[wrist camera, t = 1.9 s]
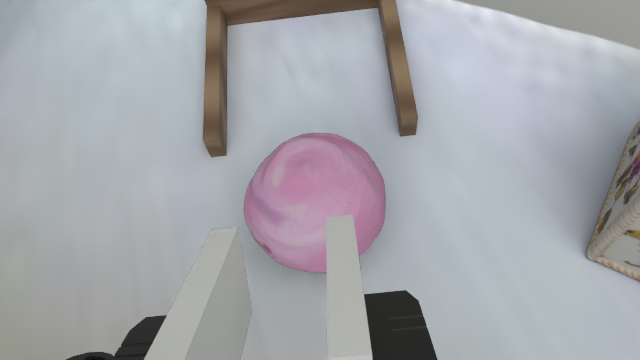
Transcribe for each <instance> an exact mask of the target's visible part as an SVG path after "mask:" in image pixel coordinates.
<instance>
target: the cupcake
mask: <svg viewBox="0 0 640 360" xmlns="http://www.w3.org/2000/svg"><path fill="white" fill-rule="evenodd" d="M385 200H386V199H385V186H384V181H383V177H382V175H381V173H380V171H379V169H378V168H377V166H376V165H375V163H374V161H373V160H372V159H371V157H370V156H369V155H368V153H367V152H366V151H365V150H363V149H362V148H361V147H360V146H358V145H357V144H355V143H354V142H352V141H350V140H348V139H346V138H343V137H341V136H338V135H335V134H329V133H308V134H303V135H299V136H296V137H294V138H291V139H289V140H288V141H286V142H284V143H282V144H281V145H279V146H278V147H277V148H276V149H275V150H274V151H273V152H272V153H271V154H270V155H269V156H268V157H267V158H266V159H265V160H264V161H263V162H262V163H261V165H260V166H259V168H258V169H257V171H256V173H255V175H254V177H253V178H252V180H251V181H250V183H249V186H248V188H247V191H246V195H245V201H244V215H245V220H246V223H247V226H248V228H249V230H250V232H251V234H252V236H253V237H254V239H255V240H256V241H257V243H258V244H259V245H260V246H261V247H262V248H263V249H264V250H265V251H266V252H267V253H268V254H269V255H270V256H271V257H272V258H273V259H274V260H276V261H277V262H279V263H281V264H283V265H285V266H287V267H290V268H294V269H297V270H302V271H307V272H314V273H327V255H326V217H335V216H345V215H353V219H354V226H355V233H356V241H357V248H358V255H360V254H362V253H363V252H364V251H365V250H366V249H367V248H368V247H369V246H370V245H371V243H372V242H373V240H374V239H375V238H376V237H377V235H378V234H379V232H380V231H381V229H382V227H383V223H384V218H385Z"/></svg>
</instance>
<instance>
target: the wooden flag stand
mask: <svg viewBox="0 0 640 360" xmlns="http://www.w3.org/2000/svg"><path fill="white" fill-rule="evenodd" d="M205 2H206V5H207V29H206V61H205V92H204V124H203V142H204V143H205V145H206V147H207V149H208V151H209V153H210V155H211V157H216V156H225V155H226V125H227V25H234V24H242V23H251V22H259V21H267V20H276V19H284V18H292V17H301V16H309V15H318V14H326V13H334V12H343V11H351V10H359V9H368V8H376V7H378V8H379V14H380V20H381V26H382V31H383V37H384V43H385V49H386V55H387V61H388V67H389V73H390V78H391V84H392V90H393V96H394V102H395V108H396V114H397V120H398V125H399V131H400V136H407V135H416V127H417V119H418V115H417V110H416V105H415V100H414V95H413V89H412V84H411V79H410V74H409V68H408V63H407V58H406V53H405V48H404V42H403V37H402V32H401V27H400V22H399V16H398V11H397V6H396V1H395V0H205Z"/></svg>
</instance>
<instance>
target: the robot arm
mask: <svg viewBox="0 0 640 360" xmlns="http://www.w3.org/2000/svg"><path fill="white" fill-rule="evenodd" d="M326 255H327V360H437V357H436V354H435V351H434V348H433V344H432V341H431V338H430V335H429V332H428V329H427V327H426V323H425V320H424V317H423V314H422V310H421V307H420V304H419V301H418V300H417V299H416V298H414V297H413V296H412V295H411V294H410V293H408V292H407V291H406V290H405V291H394V292H384V293H374V294H364V292H363V284H362V277H361V270H360V262H359V255H358V248H357V241H356V233H355V226H354V219H353V215H345V216H335V217H326ZM251 314H252V306H251V300H250V294H249V288H248V282H247V276H246V271H245V265H244V259H243V253H242V247H241V241H240V235H239V230H238V227H230V228H220V229H212V230H211V232H210V234H209V236H208V238H207V240H206V241H205V243H204V245H203V247H202V249H201V251H200V253H199V255H198V257H197V259H196V261H195V263H194V264H193V266H192V268H191V270H190V272H189V274H188V276H187V278H186V280H185V282H184V284H183V286H182V287H181V289H180V291H179V293H178V295H177V297H176V299H175V301H174V303H173V305H172V307H171V309H170V311H169V312H168V314H167V315H165V316H154V317H146V318H145V319H143V320H142V321H141V322H140V323H138V324H137V325H136V326H135V327H133V328H132V329H131V330H130V331H129V333H128V334H127V336H126V338H125V339H124V341H123V343H122V344H121V347H119V349H118V351H117V352H116V354H115V356H113V355H112V354H108V353H104V352H89V353H85V354H81V355H77V356H73V357H71V358H69V359H66V360H240V359H241V355H242V351H243V347H244V343H245V339H246V335H247V331H248V327H249V322H250V318H251Z"/></svg>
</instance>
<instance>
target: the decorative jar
mask: <svg viewBox="0 0 640 360" xmlns="http://www.w3.org/2000/svg"><path fill="white" fill-rule="evenodd" d="M586 257H587V258H588V259H590V260H593V261H596V262H598V263H601V264H603V265H605V266H607V267H611V268H613V269H614V270H616V271H619V272H621V273H622V274H625V275H627V276H629V277H632V278H634V279H636V280H639V281H640V121H639V122H638V123H637V125H636V127H635V128H634V130H633V131H632V133H631V134H630V136H629V139H628V142H627V144H626V147H625V150H624V152H623V155H622V158H621V160H620V163H619V165H618V168H617V171H616V174H615V177H614V179H613V182H612V184H611V187H610V189H609V191H608V195H607V197H606V200H605V202H604V205H603V208H602V210H601V213H600V216H599V219H598V222H597V225H596V227H595V230H594V233H593V235H592V238H591V241H590V243H589V246H588V248H587V251H586Z"/></svg>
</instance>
